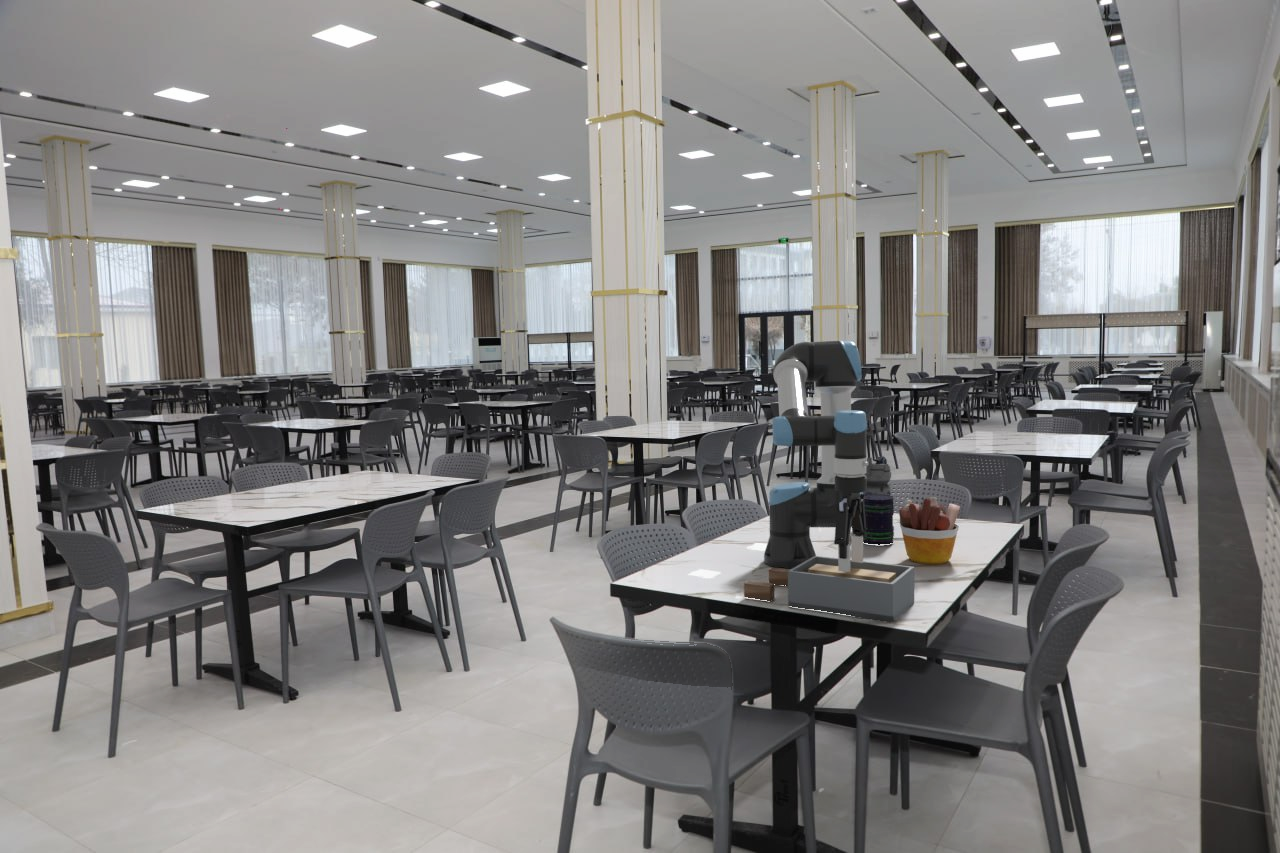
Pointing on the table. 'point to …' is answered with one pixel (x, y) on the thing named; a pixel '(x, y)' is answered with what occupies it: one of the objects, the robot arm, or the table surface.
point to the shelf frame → (852, 590)
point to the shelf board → (853, 573)
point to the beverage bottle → (878, 477)
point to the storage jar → (879, 519)
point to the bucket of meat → (929, 530)
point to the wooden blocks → (766, 585)
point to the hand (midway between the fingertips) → (851, 566)
